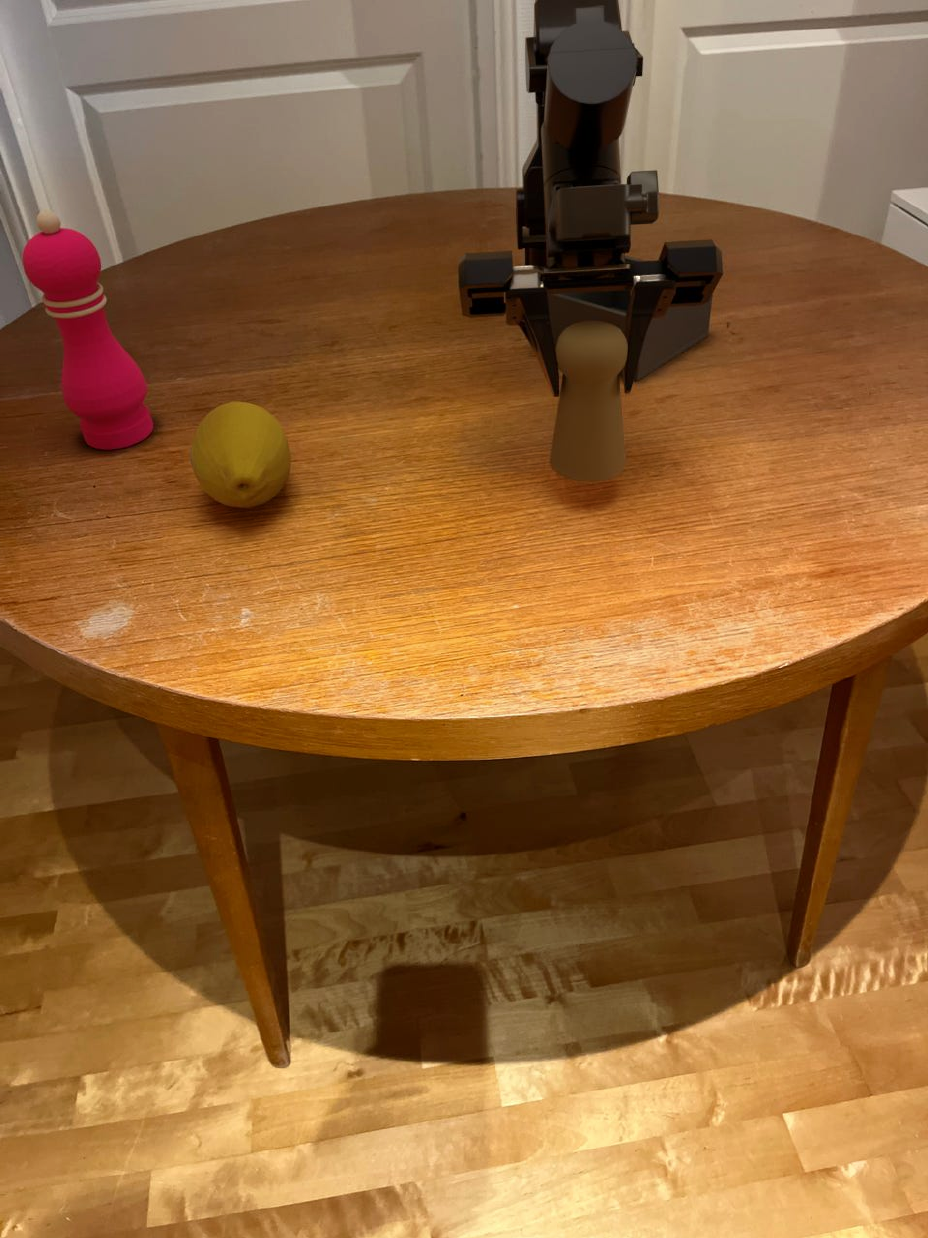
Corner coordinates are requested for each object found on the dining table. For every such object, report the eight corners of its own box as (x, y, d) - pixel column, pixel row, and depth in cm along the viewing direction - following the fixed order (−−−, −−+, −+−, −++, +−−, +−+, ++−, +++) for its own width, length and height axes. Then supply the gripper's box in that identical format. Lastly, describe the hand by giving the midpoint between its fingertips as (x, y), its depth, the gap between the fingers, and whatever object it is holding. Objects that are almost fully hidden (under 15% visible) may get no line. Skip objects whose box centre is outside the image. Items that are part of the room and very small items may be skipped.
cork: (633, 445, 76) (642, 313, 68) (617, 486, 72) (625, 351, 64) (560, 436, 77) (561, 307, 70) (540, 476, 73) (539, 342, 66)
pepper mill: (87, 461, 85) (3, 233, 71) (73, 427, 90) (-9, 208, 76) (167, 438, 87) (99, 213, 74) (149, 406, 92) (82, 190, 79)
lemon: (215, 467, 82) (192, 383, 77) (304, 461, 82) (287, 377, 77) (191, 541, 74) (164, 452, 69) (290, 534, 74) (271, 445, 69)
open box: (538, 347, 97) (538, 290, 93) (611, 307, 103) (613, 252, 99) (637, 381, 90) (641, 320, 86) (708, 336, 96) (714, 277, 92)
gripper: (450, 132, 62) (458, 364, 61) (735, 114, 62) (748, 349, 61) (458, 214, 74) (466, 411, 73) (700, 199, 73) (711, 399, 72)
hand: (591, 393), depth 69 cm, fingers closed on cork, 5 cm apart
